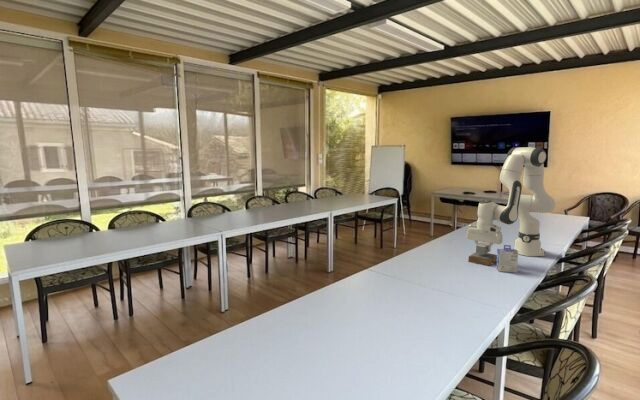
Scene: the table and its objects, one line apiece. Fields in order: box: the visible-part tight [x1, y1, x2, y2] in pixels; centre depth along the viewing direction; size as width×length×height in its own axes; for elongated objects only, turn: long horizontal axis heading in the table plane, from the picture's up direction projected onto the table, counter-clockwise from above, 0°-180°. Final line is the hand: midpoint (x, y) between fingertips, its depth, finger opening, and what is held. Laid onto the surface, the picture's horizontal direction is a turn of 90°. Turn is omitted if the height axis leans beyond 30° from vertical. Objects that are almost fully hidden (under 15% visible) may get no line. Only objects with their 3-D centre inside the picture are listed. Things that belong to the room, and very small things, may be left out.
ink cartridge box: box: [496, 244, 519, 273], centre depth 198 cm, size 10×6×14 cm, turn 78°
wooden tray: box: [468, 251, 497, 267], centre depth 215 cm, size 14×12×4 cm
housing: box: [475, 241, 491, 254], centre depth 214 cm, size 5×9×5 cm, turn 132°
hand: (483, 248), depth 214 cm, fingers closed on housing, 5 cm apart
